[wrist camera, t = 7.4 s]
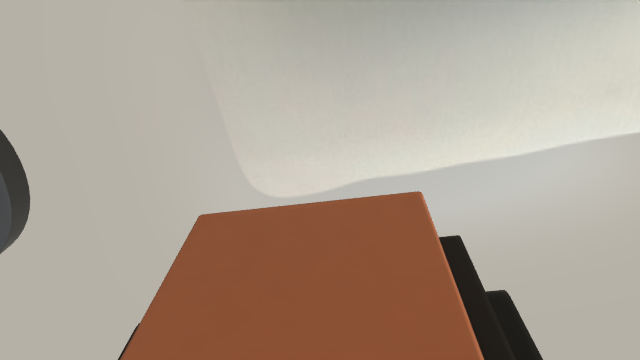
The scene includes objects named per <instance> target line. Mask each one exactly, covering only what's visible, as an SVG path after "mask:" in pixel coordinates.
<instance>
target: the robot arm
mask: <svg viewBox="0 0 640 360" xmlns="http://www.w3.org/2000/svg"><path fill="white" fill-rule="evenodd" d="M439 240H440V243H441V245H442V248H443V251H444V253H445V256H446V259H447V262H448V264H449V267H450V270H451V272H452V275H453V278H454V280H455V283H456V286H457V288H458V291H459V294H460V296H461V299H462V302H463V305H464V307H465V310H466V313H467V315H468V318H469V321H470V323H471V326H472V329H473V331H474V334H475V337H476V339H477V342H478V345H479V348H480V350H481V353H482V356H483V358H484V360H543V359H542V357H541V355H540V353H539V351H538V349H537V347H536V345H535V343H534V341H533V340H532V338H531V336H530V334H529V332H528V330H527V328H526V326H525V324H524V322H523V320H522V318H521V317H520V315H519V313H518V311H517V309H516V307H515V305H514V303H513V301H512V299H511V297H510V296H509V294H508V293H507V292H506V291H505V290H499V291H487V292H485V290H484V288H483V286H482V283H481V281H480V279H479V277H478V275H477V272H476V270H475V268H474V266H473V263H472V261H471V259H470V257H469V255H468V252H467V250H466V248H465V246H464V243H463V241H462V239H461V237H460V236H458V235H457V236H447V237H439ZM139 324H140V323H139ZM139 324H138V326H139ZM138 326H137V327H136V328H135V330H134V332H133V333H132V335H131V337H130V339H129V341H128V343H127V344H126V346H125V348H124V350H123V351H122V353H121V355H120V357H119V359H118V360H120V359H121V357H122V355H123V353H124V352H125V350H126V348H127V346H128V344H129V342H130V341H131V339H132V337H133V335H134V333H135V332H136V330H137V328H138Z"/></svg>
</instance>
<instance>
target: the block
mask: <svg viewBox="0 0 640 360" xmlns="http://www.w3.org/2000/svg"><path fill="white" fill-rule="evenodd" d="M120 360H484V358H483V356H482V353H481V350H480V348H479V345H478V342H477V339H476V337H475V334H474V331H473V329H472V326H471V323H470V321H469V318H468V315H467V313H466V310H465V307H464V305H463V302H462V299H461V296H460V294H459V291H458V288H457V286H456V283H455V280H454V278H453V275H452V272H451V270H450V267H449V264H448V262H447V259H446V256H445V253H444V251H443V248H442V245H441V243H440V240H439V237H438V235H437V232H436V229H435V227H434V224H433V221H432V219H431V216H430V213H429V210H428V208H427V205H426V203H425V200H424V197H423V195H422V193H421V192H409V193H399V194H390V195H380V196H372V197H362V198H353V199H343V200H335V201H325V202H316V203H307V204H297V205H288V206H278V207H269V208H259V209H251V210H241V211H232V212H222V213H213V214H204V215H200V216H199V217H198V219H197V221H196V222H195V224H194V226H193V228H192V230H191V232H190V233H189V235H188V237H187V239H186V241H185V242H184V244H183V246H182V248H181V250H180V252H179V253H178V255H177V257H176V259H175V261H174V262H173V264H172V266H171V268H170V270H169V272H168V273H167V275H166V277H165V279H164V281H163V282H162V284H161V286H160V288H159V290H158V292H157V293H156V296H155V297H154V299H153V301H152V303H151V304H150V306H149V308H148V310H147V312H146V313H145V316H144V317H143V319H142V321H141V323H140V324H139V326H138V328H137V330H136V332H135V333H134V335H133V337H132V339H131V341H130V342H129V344H128V346H127V348H126V350H125V352H124V353H123V355H122V357H121V359H120Z"/></svg>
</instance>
